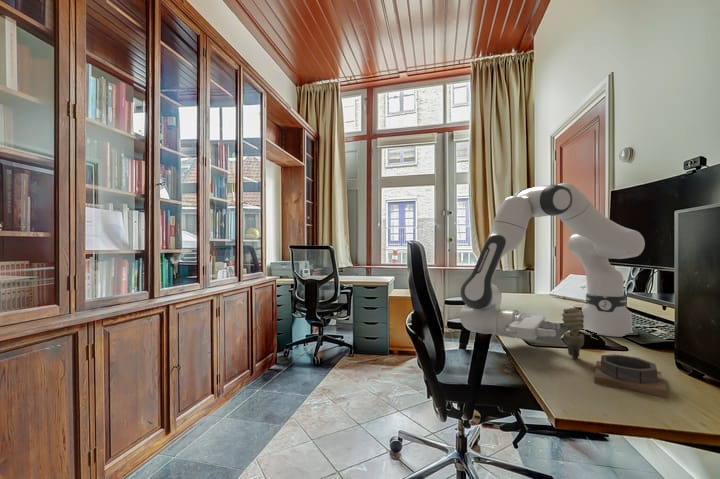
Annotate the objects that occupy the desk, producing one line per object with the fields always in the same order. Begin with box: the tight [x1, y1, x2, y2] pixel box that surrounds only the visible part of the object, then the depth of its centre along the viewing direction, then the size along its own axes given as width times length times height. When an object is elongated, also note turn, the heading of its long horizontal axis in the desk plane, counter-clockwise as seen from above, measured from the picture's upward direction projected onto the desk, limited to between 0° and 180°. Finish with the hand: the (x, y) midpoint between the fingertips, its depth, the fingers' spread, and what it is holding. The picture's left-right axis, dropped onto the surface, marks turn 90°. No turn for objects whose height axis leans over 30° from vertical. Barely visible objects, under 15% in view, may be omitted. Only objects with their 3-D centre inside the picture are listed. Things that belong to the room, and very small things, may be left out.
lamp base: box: [594, 353, 669, 399], centre depth 79 cm, size 13×13×4 cm
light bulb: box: [561, 307, 585, 359], centre depth 95 cm, size 6×6×15 cm
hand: (557, 329), depth 97 cm, fingers open, 8 cm apart
